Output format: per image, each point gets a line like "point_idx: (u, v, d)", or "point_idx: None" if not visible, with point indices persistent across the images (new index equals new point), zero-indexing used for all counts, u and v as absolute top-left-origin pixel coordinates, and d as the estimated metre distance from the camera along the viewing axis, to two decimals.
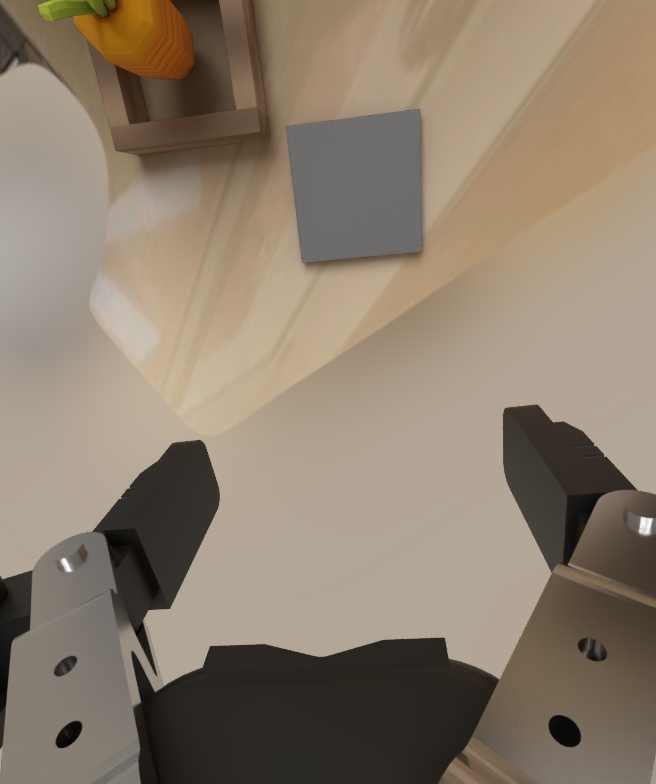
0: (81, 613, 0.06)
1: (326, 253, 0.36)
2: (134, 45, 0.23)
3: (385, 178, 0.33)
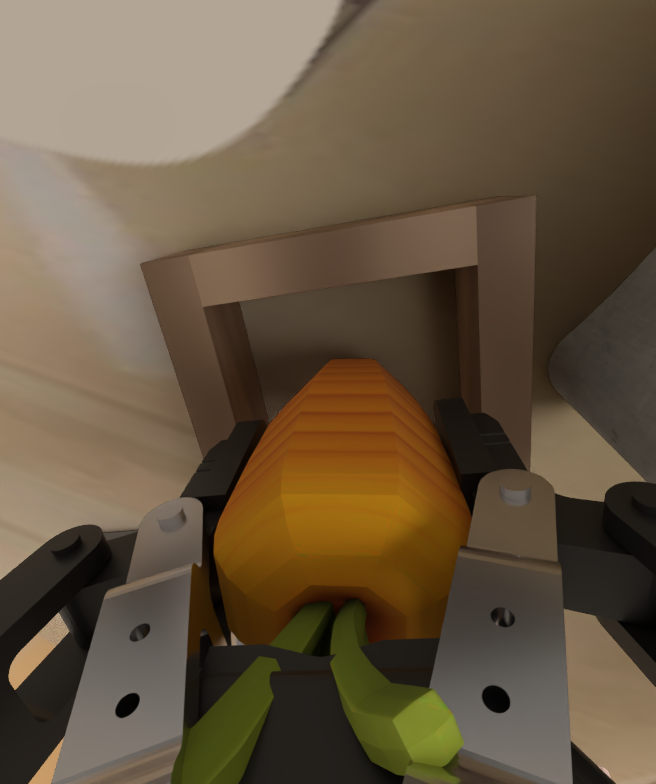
0: (163, 582, 0.06)
1: None
2: None
3: None
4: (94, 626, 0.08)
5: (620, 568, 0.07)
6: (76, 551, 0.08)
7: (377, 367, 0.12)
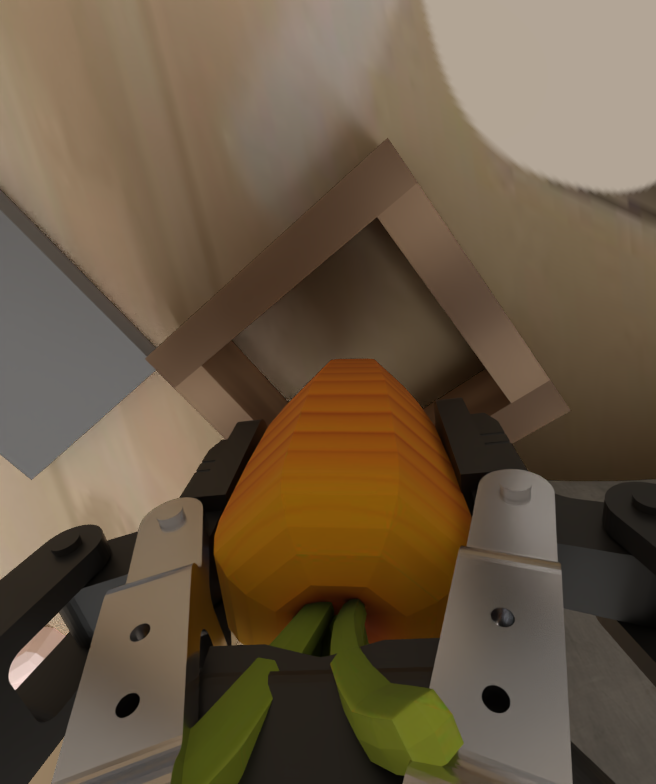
0: (163, 582, 0.06)
1: None
2: None
3: None
4: (94, 626, 0.08)
5: (620, 568, 0.07)
6: (76, 551, 0.08)
7: (377, 367, 0.12)
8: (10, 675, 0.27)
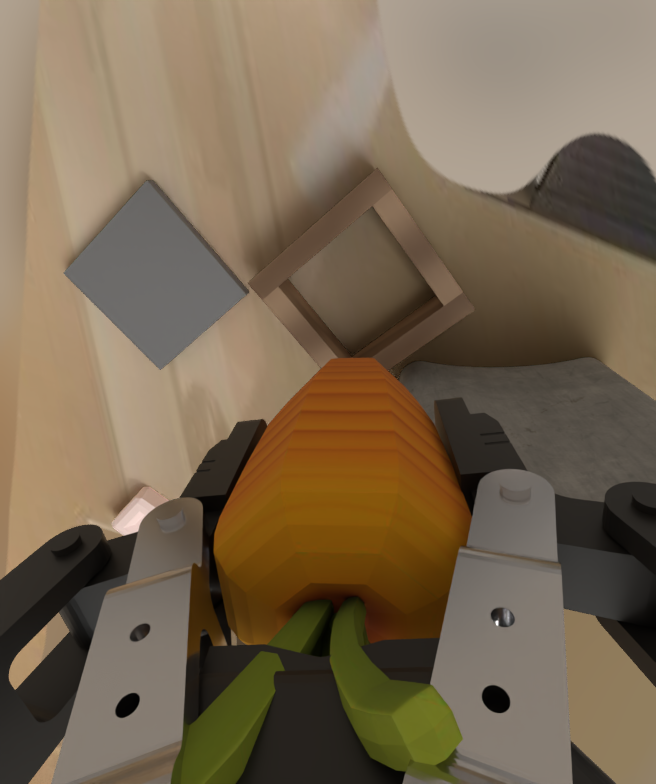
0: (163, 582, 0.06)
1: (133, 208, 0.30)
2: None
3: (141, 309, 0.34)
4: (94, 626, 0.08)
5: (620, 568, 0.07)
6: (76, 551, 0.08)
7: (377, 366, 0.12)
8: (126, 517, 0.41)
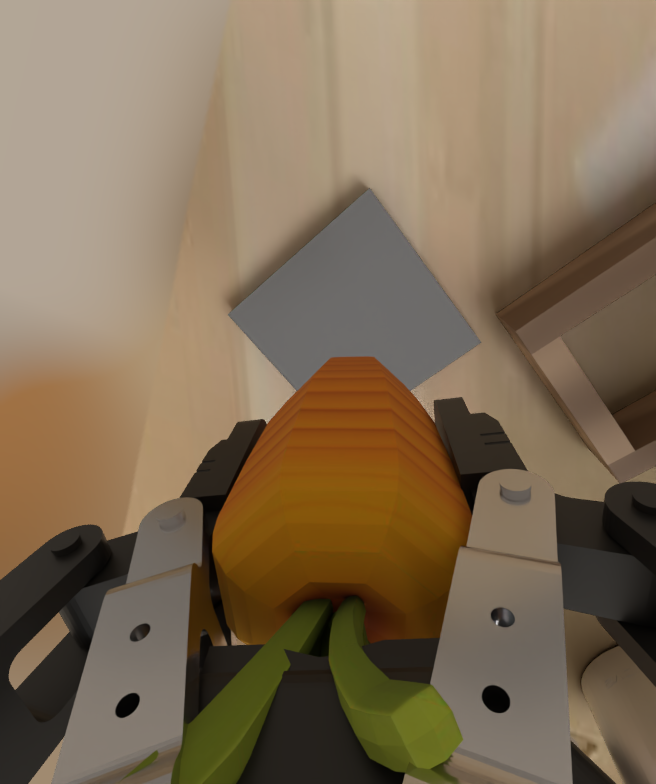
0: (164, 582, 0.06)
1: (342, 227, 0.22)
2: None
3: None
4: (94, 626, 0.08)
5: (620, 568, 0.07)
6: (76, 551, 0.08)
7: (377, 365, 0.12)
8: None
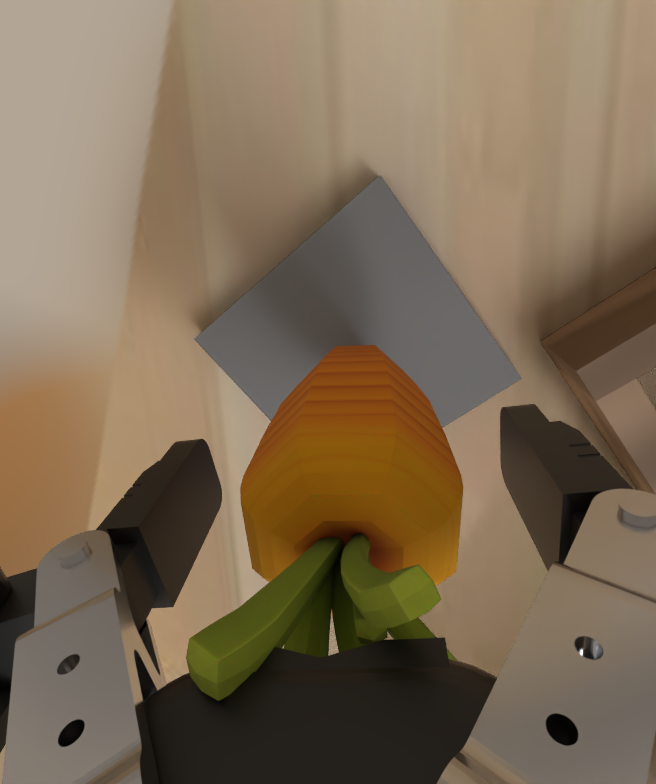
0: (84, 611, 0.06)
1: (343, 227, 0.16)
2: None
3: None
4: (0, 665, 0.08)
5: None
6: None
7: (378, 351, 0.13)
8: None
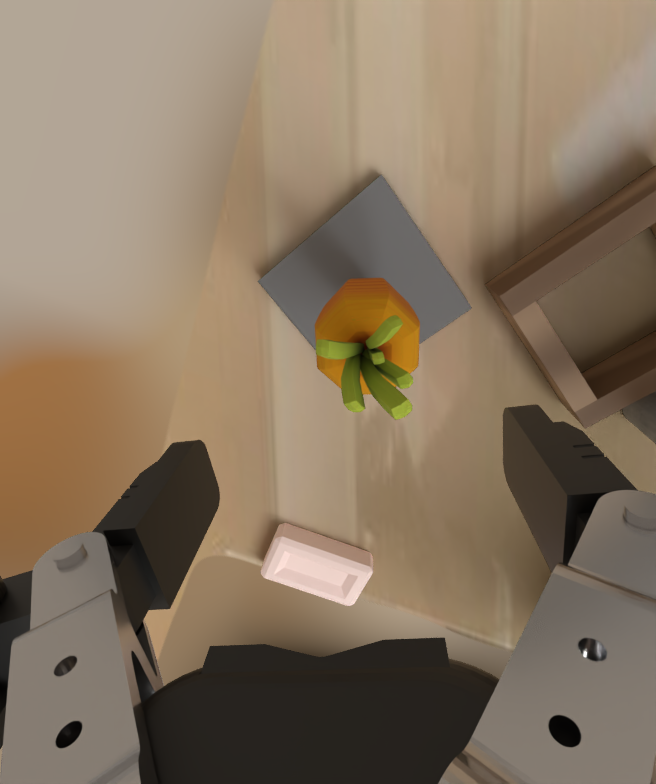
0: (81, 613, 0.06)
1: (358, 207, 0.26)
2: (326, 373, 0.19)
3: None
4: None
5: None
6: None
7: None
8: (273, 562, 0.38)
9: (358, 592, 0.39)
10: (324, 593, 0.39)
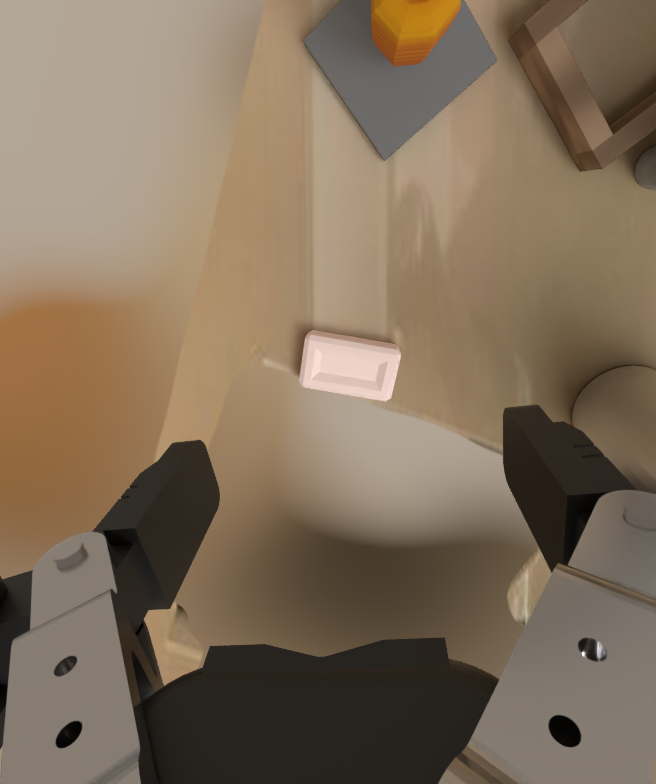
0: (81, 613, 0.06)
1: None
2: (381, 12, 0.22)
3: (379, 83, 0.32)
4: None
5: None
6: None
7: None
8: (307, 364, 0.41)
9: (392, 381, 0.41)
10: (361, 389, 0.41)
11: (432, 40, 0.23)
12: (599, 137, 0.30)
